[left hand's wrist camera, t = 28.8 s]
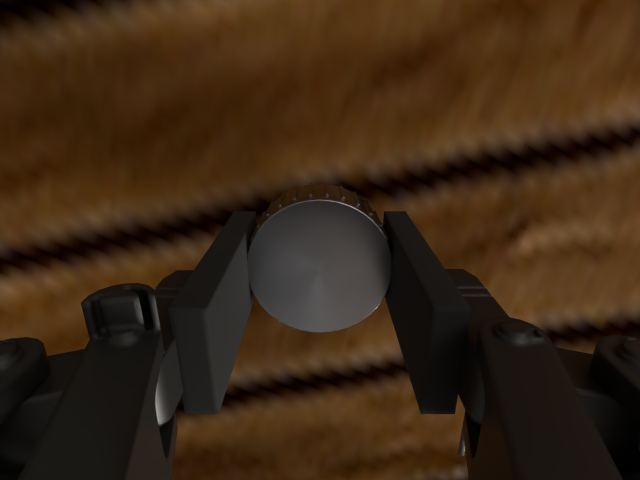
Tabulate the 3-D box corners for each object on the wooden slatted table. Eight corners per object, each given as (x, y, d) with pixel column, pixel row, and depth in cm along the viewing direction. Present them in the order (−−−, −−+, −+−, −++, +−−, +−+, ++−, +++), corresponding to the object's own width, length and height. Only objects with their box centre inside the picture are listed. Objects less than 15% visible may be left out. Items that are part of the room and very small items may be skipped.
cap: (228, 225, 14) (213, 247, 12) (343, 155, 13) (346, 167, 11) (299, 322, 15) (296, 356, 14) (407, 265, 15) (420, 292, 13)
